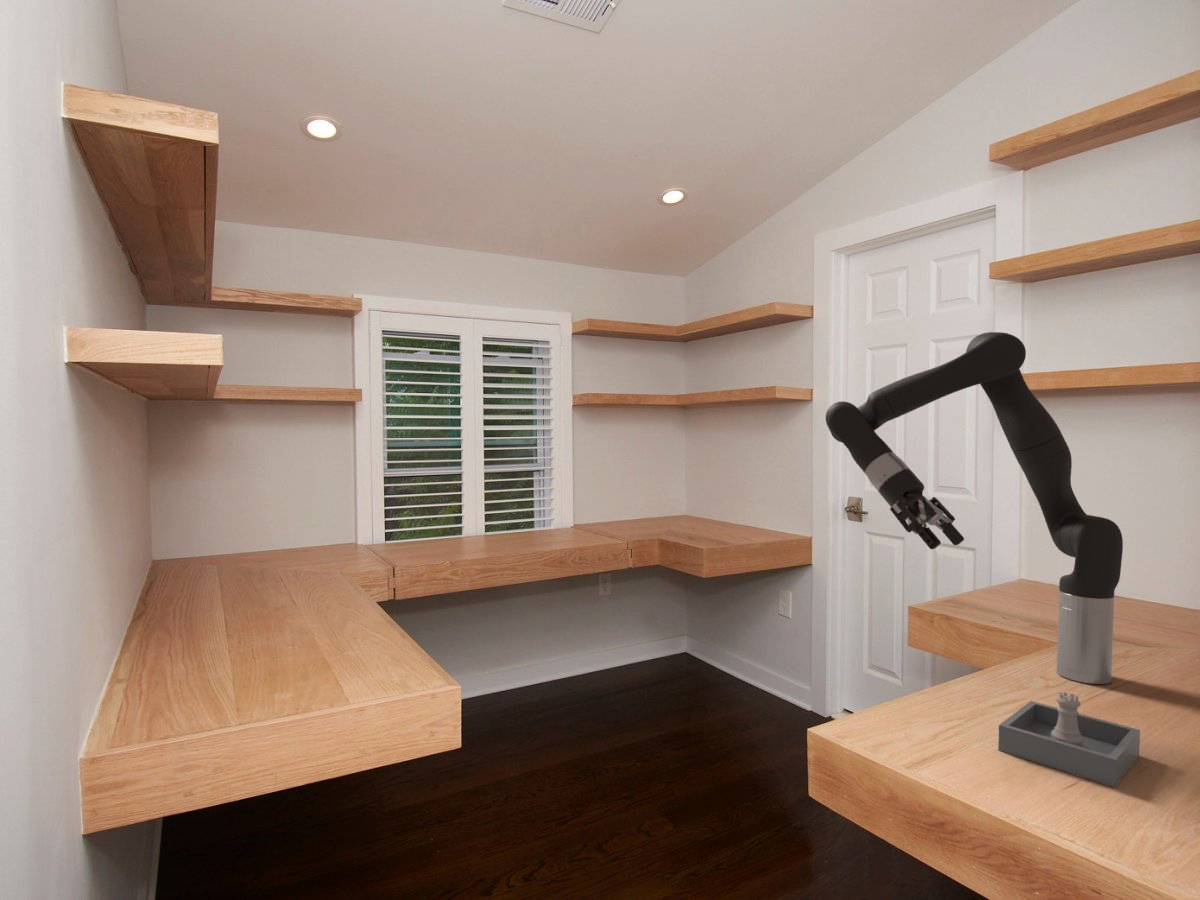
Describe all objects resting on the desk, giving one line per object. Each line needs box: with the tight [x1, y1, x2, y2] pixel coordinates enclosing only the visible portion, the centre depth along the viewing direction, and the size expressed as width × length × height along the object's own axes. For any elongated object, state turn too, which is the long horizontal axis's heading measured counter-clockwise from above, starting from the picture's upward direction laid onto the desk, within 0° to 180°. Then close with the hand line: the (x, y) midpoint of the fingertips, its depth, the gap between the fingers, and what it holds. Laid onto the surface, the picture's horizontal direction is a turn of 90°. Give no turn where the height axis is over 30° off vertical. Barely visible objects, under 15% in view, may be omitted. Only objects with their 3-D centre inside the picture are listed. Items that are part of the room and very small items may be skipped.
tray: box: [998, 700, 1141, 789], centre depth 108 cm, size 15×15×4 cm
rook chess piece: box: [1051, 692, 1084, 748], centre depth 108 cm, size 4×4×8 cm
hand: (948, 544), depth 130 cm, fingers open, 8 cm apart
